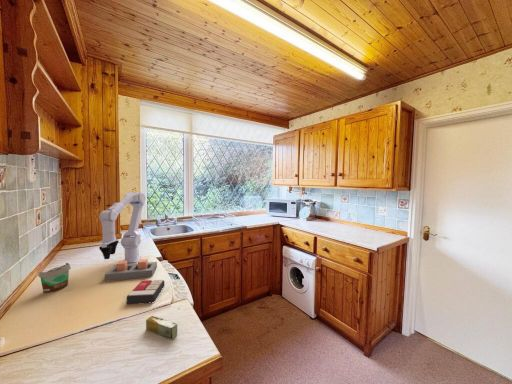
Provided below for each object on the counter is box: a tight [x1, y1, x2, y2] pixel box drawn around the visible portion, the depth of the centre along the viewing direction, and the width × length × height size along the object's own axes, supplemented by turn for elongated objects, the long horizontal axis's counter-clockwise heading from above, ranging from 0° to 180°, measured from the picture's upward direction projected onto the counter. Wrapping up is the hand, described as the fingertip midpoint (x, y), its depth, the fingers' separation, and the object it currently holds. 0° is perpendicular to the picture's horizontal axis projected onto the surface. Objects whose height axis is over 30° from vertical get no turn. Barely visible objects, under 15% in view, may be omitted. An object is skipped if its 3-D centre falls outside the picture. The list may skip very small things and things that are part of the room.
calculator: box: [126, 279, 165, 305], centre depth 97 cm, size 11×4×15 cm
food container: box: [38, 262, 72, 294], centre depth 102 cm, size 12×6×10 cm, turn 168°
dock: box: [104, 258, 158, 282], centre depth 117 cm, size 12×22×7 cm, turn 104°
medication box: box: [145, 315, 178, 341], centre depth 73 cm, size 12×3×4 cm, turn 67°
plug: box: [115, 260, 129, 271], centre depth 116 cm, size 4×4×6 cm
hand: (109, 256), depth 118 cm, fingers open, 7 cm apart
